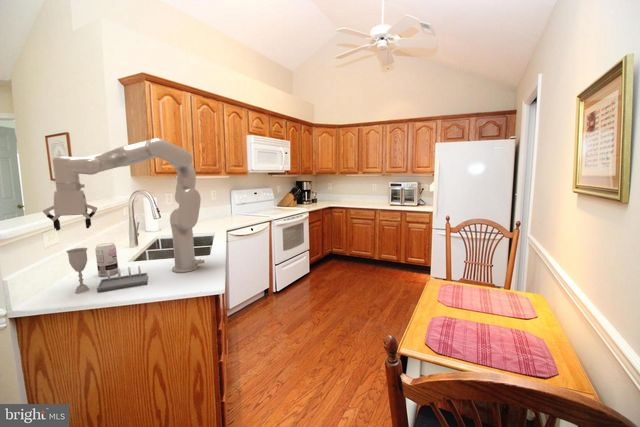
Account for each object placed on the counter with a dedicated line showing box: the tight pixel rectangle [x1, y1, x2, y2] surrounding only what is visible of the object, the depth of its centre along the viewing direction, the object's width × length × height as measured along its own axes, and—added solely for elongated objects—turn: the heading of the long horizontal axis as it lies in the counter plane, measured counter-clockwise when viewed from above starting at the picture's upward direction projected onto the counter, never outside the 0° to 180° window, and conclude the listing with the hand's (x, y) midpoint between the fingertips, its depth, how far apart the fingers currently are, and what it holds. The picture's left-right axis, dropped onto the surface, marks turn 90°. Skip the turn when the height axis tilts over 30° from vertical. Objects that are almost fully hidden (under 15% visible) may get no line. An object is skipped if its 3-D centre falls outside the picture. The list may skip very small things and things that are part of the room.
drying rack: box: [96, 265, 149, 294], centre depth 133 cm, size 18×12×6 cm, turn 119°
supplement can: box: [95, 242, 119, 277], centre depth 146 cm, size 8×8×15 cm
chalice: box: [65, 247, 91, 294], centre depth 125 cm, size 7×7×18 cm
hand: (73, 229), depth 123 cm, fingers open, 9 cm apart
